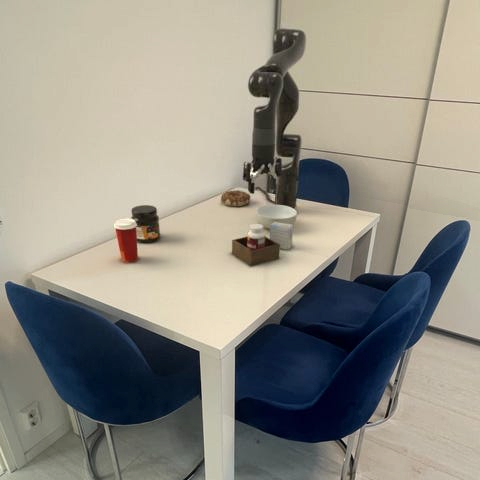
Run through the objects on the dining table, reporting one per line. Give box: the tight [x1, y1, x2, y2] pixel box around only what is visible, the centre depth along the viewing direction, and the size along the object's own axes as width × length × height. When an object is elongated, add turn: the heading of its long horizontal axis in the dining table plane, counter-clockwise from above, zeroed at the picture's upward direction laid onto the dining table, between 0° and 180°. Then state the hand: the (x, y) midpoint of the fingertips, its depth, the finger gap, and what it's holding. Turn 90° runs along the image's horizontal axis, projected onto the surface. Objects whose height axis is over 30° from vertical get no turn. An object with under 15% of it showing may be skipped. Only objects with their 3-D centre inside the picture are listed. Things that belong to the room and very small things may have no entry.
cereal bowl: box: [255, 204, 298, 230], centre depth 190 cm, size 17×17×7 cm
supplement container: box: [130, 204, 161, 244], centre depth 177 cm, size 10×10×12 cm
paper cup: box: [113, 218, 139, 264], centre depth 159 cm, size 8×8×14 cm
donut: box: [220, 189, 251, 207], centre depth 218 cm, size 14×14×5 cm
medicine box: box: [268, 222, 294, 251], centre depth 172 cm, size 8×4×9 cm, turn 65°
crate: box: [231, 235, 281, 267], centre depth 165 cm, size 12×12×6 cm
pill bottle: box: [247, 223, 266, 251], centre depth 164 cm, size 6×6×11 cm
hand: (261, 191), depth 157 cm, fingers open, 8 cm apart
